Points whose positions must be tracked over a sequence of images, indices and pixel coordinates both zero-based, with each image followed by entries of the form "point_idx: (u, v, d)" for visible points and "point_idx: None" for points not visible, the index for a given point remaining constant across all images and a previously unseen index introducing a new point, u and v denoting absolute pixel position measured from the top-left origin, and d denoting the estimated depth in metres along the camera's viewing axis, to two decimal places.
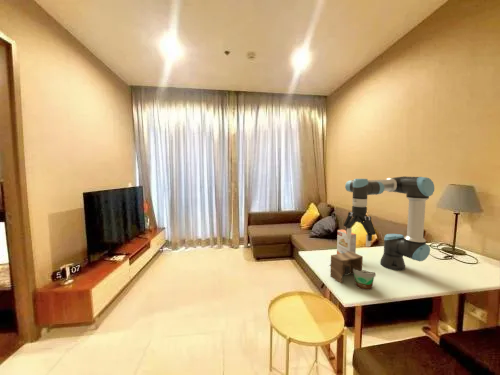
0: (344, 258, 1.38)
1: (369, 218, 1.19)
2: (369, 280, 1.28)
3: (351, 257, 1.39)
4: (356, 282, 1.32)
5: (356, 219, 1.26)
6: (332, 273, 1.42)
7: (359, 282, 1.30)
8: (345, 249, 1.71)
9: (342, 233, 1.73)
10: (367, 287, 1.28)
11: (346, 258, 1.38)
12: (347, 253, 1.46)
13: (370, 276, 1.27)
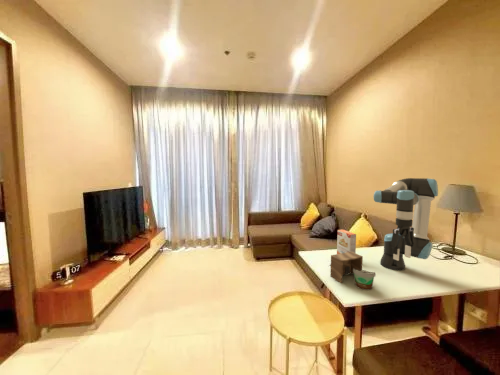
0: (344, 258, 1.38)
1: (395, 231, 1.19)
2: (369, 280, 1.28)
3: (351, 257, 1.39)
4: (356, 282, 1.32)
5: None
6: (332, 273, 1.42)
7: (359, 282, 1.30)
8: (345, 249, 1.71)
9: (342, 233, 1.73)
10: (367, 287, 1.28)
11: (346, 258, 1.38)
12: (347, 253, 1.46)
13: (370, 276, 1.27)
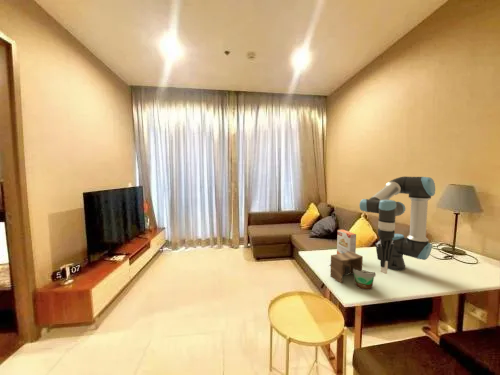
0: (344, 258, 1.38)
1: (377, 246, 1.15)
2: (369, 280, 1.28)
3: (351, 257, 1.39)
4: (356, 282, 1.32)
5: None
6: (332, 273, 1.42)
7: (359, 282, 1.30)
8: (345, 249, 1.71)
9: (342, 233, 1.73)
10: (367, 287, 1.28)
11: (346, 258, 1.38)
12: (347, 253, 1.46)
13: (370, 276, 1.27)
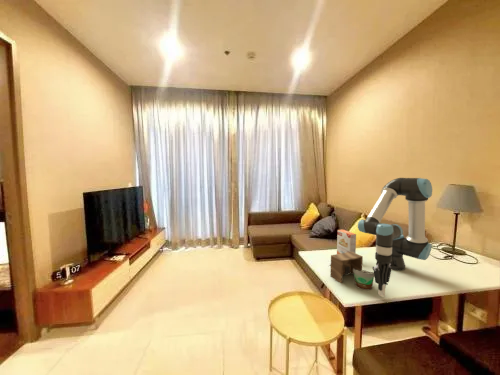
0: (344, 258, 1.38)
1: (374, 269, 1.16)
2: (369, 280, 1.28)
3: (351, 257, 1.39)
4: (356, 282, 1.32)
5: None
6: (332, 273, 1.42)
7: (359, 282, 1.30)
8: (345, 249, 1.71)
9: (342, 233, 1.73)
10: (367, 287, 1.28)
11: (346, 258, 1.38)
12: (347, 253, 1.46)
13: (370, 276, 1.27)
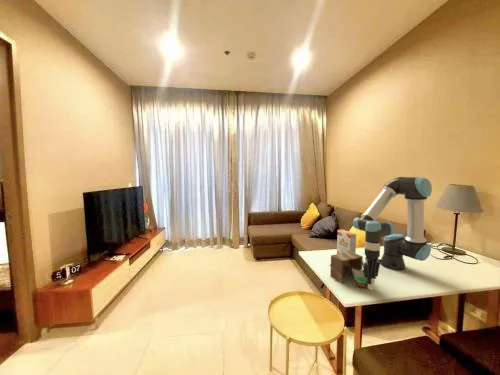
0: (344, 258, 1.38)
1: (363, 264, 1.23)
2: None
3: (351, 257, 1.39)
4: (355, 282, 1.33)
5: None
6: (332, 273, 1.42)
7: (358, 281, 1.30)
8: (345, 249, 1.71)
9: (342, 233, 1.73)
10: (366, 286, 1.29)
11: (346, 258, 1.38)
12: (347, 253, 1.46)
13: None
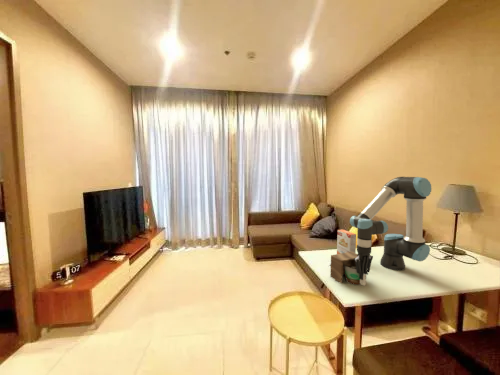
0: (344, 258, 1.38)
1: (355, 260, 1.28)
2: None
3: (351, 257, 1.39)
4: (348, 279, 1.36)
5: None
6: (332, 273, 1.42)
7: (351, 278, 1.34)
8: (345, 249, 1.71)
9: (342, 233, 1.73)
10: (358, 282, 1.34)
11: (346, 258, 1.38)
12: (347, 253, 1.46)
13: None
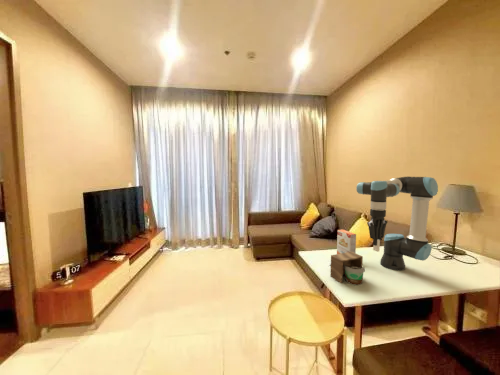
0: (344, 258, 1.38)
1: (369, 224, 1.20)
2: (360, 275, 1.33)
3: (351, 257, 1.39)
4: (347, 279, 1.36)
5: None
6: (332, 273, 1.42)
7: (351, 278, 1.34)
8: (345, 249, 1.71)
9: (342, 233, 1.73)
10: (358, 282, 1.34)
11: (346, 258, 1.38)
12: (347, 253, 1.46)
13: (361, 271, 1.32)
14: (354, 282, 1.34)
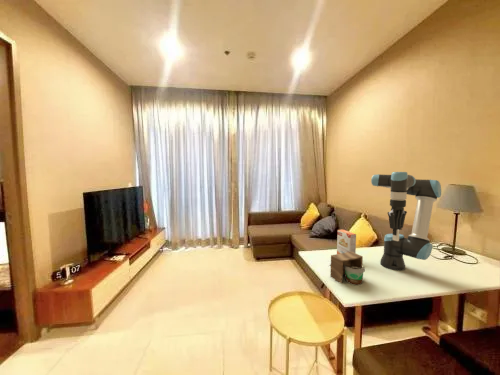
0: (344, 258, 1.38)
1: (389, 214, 1.22)
2: (360, 275, 1.33)
3: (351, 257, 1.39)
4: (347, 279, 1.36)
5: None
6: (332, 273, 1.42)
7: (351, 278, 1.34)
8: (345, 249, 1.71)
9: (342, 233, 1.73)
10: (358, 282, 1.34)
11: (346, 258, 1.38)
12: (347, 253, 1.46)
13: (361, 271, 1.32)
14: (354, 282, 1.34)
